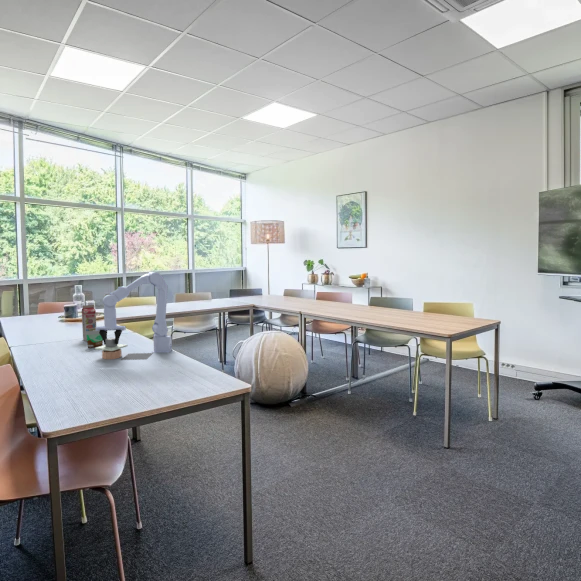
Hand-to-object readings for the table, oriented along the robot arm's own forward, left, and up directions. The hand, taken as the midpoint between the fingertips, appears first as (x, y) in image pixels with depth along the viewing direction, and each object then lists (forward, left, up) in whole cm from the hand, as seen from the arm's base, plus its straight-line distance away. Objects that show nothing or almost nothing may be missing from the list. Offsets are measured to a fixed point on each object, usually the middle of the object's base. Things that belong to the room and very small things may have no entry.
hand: (111, 344), depth 214 cm
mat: (-13, 0, -7) cm, 15 cm away
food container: (+18, -28, -7) cm, 34 cm away
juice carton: (+30, -46, -7) cm, 55 cm away
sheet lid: (0, 0, -2) cm, 2 cm away
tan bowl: (0, 0, -7) cm, 7 cm away
